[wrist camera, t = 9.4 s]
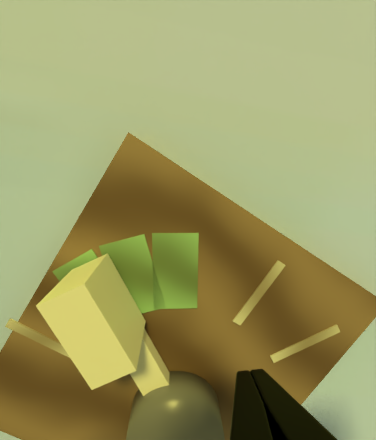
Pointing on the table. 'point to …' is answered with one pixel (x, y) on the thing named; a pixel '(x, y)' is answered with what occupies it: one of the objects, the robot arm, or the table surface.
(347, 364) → the table surface
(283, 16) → the table surface
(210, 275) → the brown flat wooden board
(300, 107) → the table surface
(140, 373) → the peg lever
